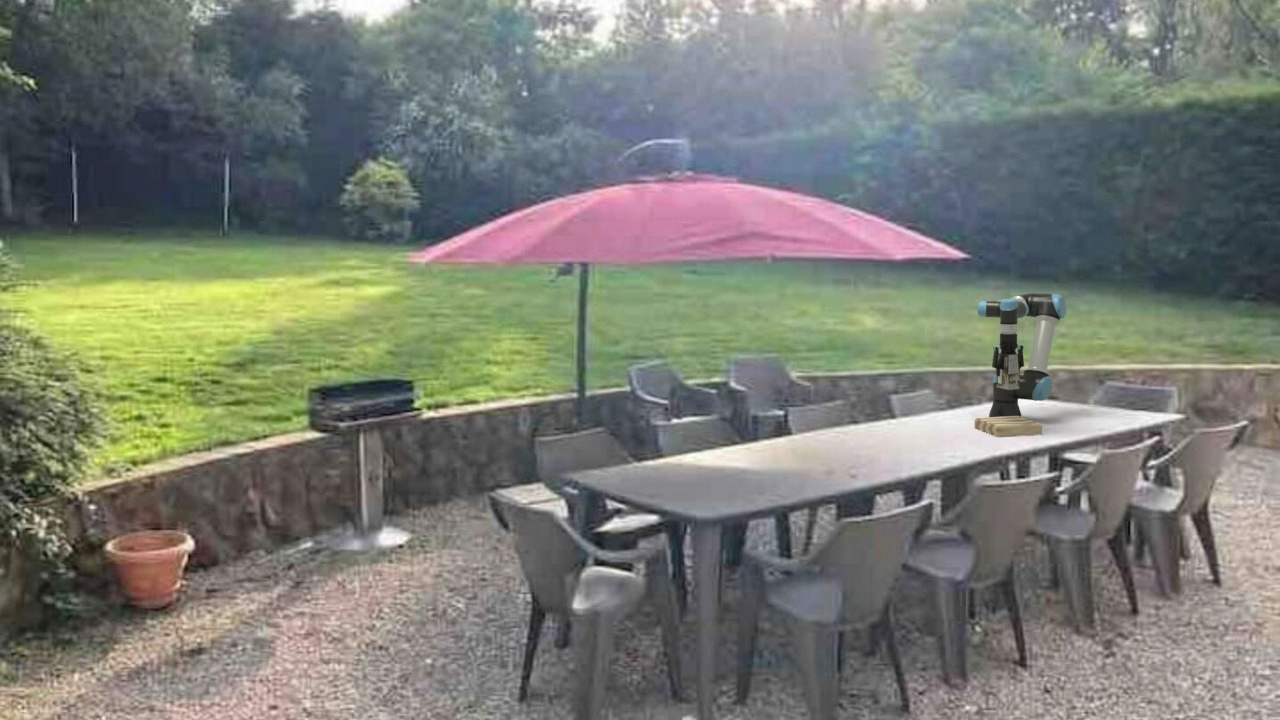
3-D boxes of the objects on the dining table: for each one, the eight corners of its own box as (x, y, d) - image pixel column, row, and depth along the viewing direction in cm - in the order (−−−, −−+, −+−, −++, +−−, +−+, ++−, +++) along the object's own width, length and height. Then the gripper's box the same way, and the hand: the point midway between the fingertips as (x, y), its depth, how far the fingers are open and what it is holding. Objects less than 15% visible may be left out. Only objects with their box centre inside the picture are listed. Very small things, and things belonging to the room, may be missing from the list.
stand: (974, 428, 520) (974, 417, 519) (1018, 426, 523) (1018, 415, 523) (996, 437, 498) (996, 426, 498) (1041, 434, 502) (1042, 423, 501)
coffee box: (1020, 389, 505) (1020, 354, 503) (1008, 390, 503) (1008, 354, 501) (1007, 386, 514) (1008, 351, 511) (995, 387, 512) (996, 352, 509)
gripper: (991, 334, 500) (990, 385, 503) (1033, 333, 503) (1032, 382, 506) (984, 333, 507) (983, 382, 510) (1025, 331, 510) (1024, 380, 513)
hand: (1007, 382), depth 508 cm, fingers closed on coffee box, 7 cm apart
